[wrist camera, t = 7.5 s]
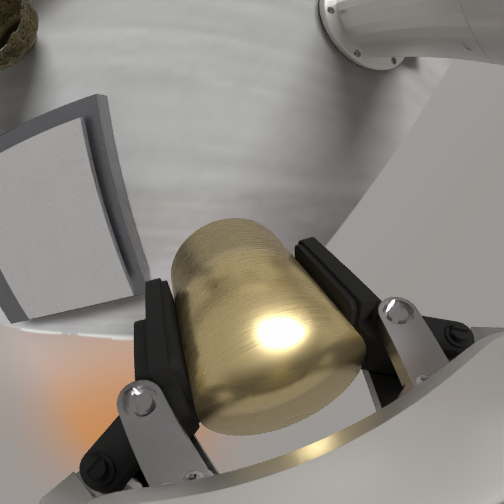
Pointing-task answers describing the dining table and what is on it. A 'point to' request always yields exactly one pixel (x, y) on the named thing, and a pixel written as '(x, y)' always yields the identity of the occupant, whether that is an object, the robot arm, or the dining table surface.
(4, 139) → the scale
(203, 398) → the brass weight
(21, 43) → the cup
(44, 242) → the scale pan
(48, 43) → the dining table surface
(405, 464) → the robot arm
